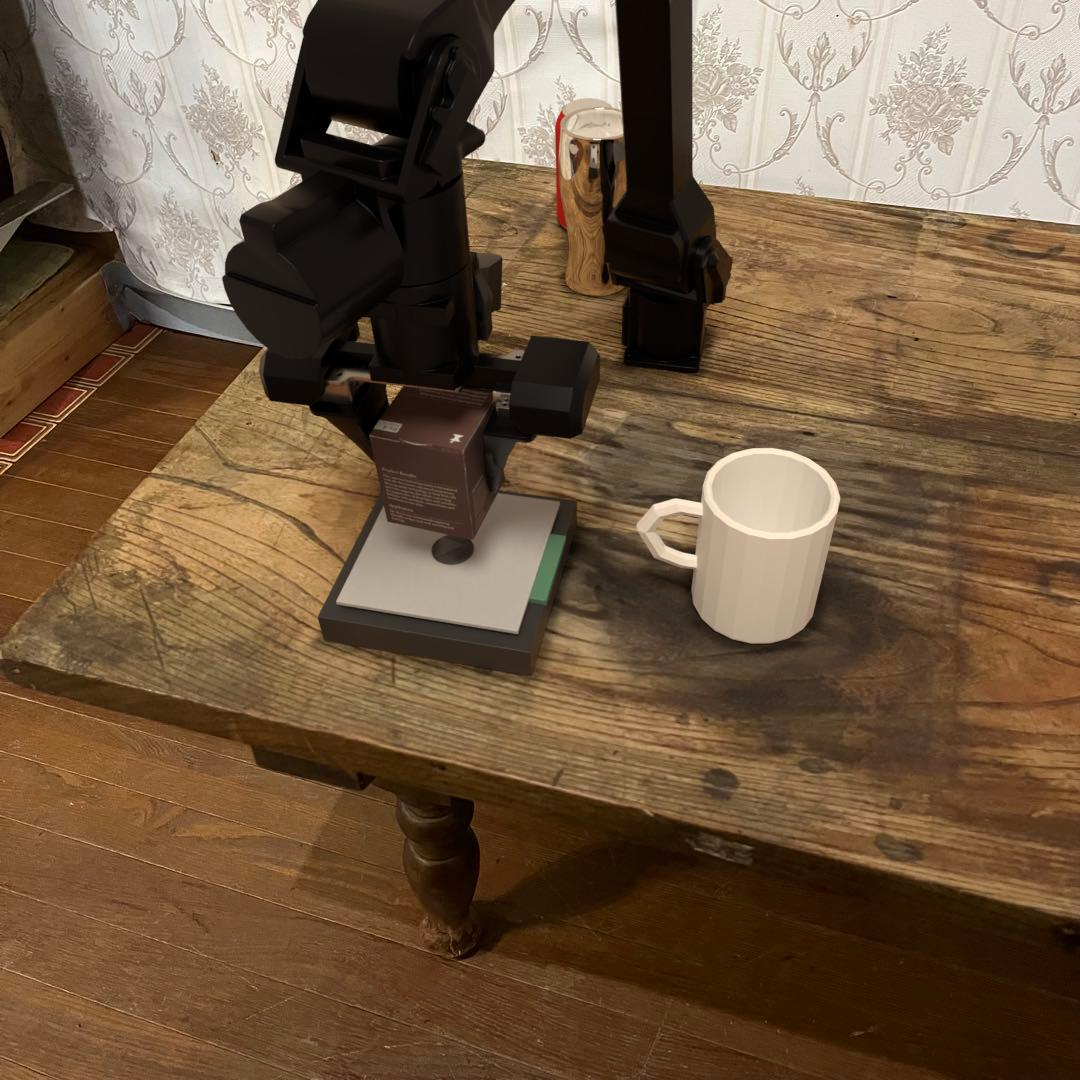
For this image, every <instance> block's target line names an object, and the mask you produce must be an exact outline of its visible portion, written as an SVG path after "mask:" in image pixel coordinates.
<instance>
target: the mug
mask: <svg viewBox="0 0 1080 1080" xmlns="http://www.w3.org/2000/svg"><path fill="white" fill-rule="evenodd" d="M840 501H841V495H840V491H839V487H838V485H837V482H836V481H835V480H834V478H832V476H831V475H830V474H829V472H828V471H827V470H826V469H825V468H823V467H822V466H820V464H817V462H815V461H814V460H812V459H810V458H808V457H806V456H804V455H801V454H799V453H797V452H794V451H791V450H786V449H780V448H776V447H775V448H774V447H753V448H752V447H751V448H748V449H743V450H740V451H735V452H732V453H730V454H728V455H726V456H725V457H723V458H720V459H719V460H717V461H716V462H715V463H714V464H713V465H712V466H711V468H710V469H708V471H706V475H705V478H704V481H703V484H702V489H701V499H700V501H694V500H687V499H682V498H676V497H675V498H671V499H668V500H665V501H661V502H657V503H653V504H652V505H651V506H650V508H649V509H648V510H647V511H646V513H644V515H643V516H642V517H641V519H639V521H638V522H637V523H636V524H635V526H636V531H637V533H638V535H639V536H640V537H641V540H642V541H643V542H644V544H645V546H646V547H647V549H648V551H649V552H650V554H651V555H652V557H653V558H654V559H656V560H659V561H661V562H664V563H667V564H669V565H672V566H674V567H677V568H678V569H679V568H680V569H688V570H692V571H693V572H692V579H691V581H692V582H691V588H690V589H691V596H692V597H691V598H692V604H693V606H694V608H695V610H696V611H697V613H698V615H699V617H700V619H701V620H702V621H703V622H704V623H706V624H707V625H708V626H709V627H710V628H711V629H712V630H713V631H715V632H717V633H718V634H720V635H722V636H724V637H727V638H728V639H730V640H734V641H737V642H740V643H741V642H742V643H746V644H752V645H753V644H754V645H759V644H761V645H762V644H766V645H767V644H774V643H777V642H781V641H785V640H788V639H790V638H792V637H794V636H795V635H796V634H798V633H799V632H801V631H803V630H804V629H805V627H806V626H807V625H808V624H809V622H810V621H811V620H812V618H813V616H814V612H815V608H816V604H817V600H818V596H819V591H820V587H821V583H822V579H823V575H824V570H825V565H826V562H827V558H828V553H829V549H830V546H831V542H832V537H833V533H834V529H835V525H836V521H837V516H838V512H839V507H840ZM681 516H687V517H688V516H689V517H692V518H693V517H694V518H698V525H697V526H698V527H697V535H696V544H695V553H694V554H692V553H687V552H682V551H680V550H677V549H675V548H672V547H670V546H668V545H666V544H665V543H664V540H662V538H661V536H660V535H659V533H658V532H657V530H656V529H658V527H660V525H661V524H662V523H663V522H664V520H668V519H671V518H672V519H673V518H676V517H681Z"/></svg>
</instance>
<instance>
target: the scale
mask: <svg viewBox="0 0 1080 1080" xmlns="http://www.w3.org/2000/svg"><path fill="white" fill-rule="evenodd" d="M366 518H367V519H366V521H365V522H364V524H363V526H362V528H361V530H360V532H359V533H358V536H357V538H356V540H355V542H354V544H353V545H352V548H351V550H350V552H349V554H348V556H347V558H346V559H345V562H344V563H343V566H342V568H341V569H340V572H339V573H338V576H337V577H336V579H335V582H334V583H333V585H332V587H331V589H330V591H329V593H328V594H327V597H326V599H325V601H324V603H323V605H322V606H321V609H320V611H319V613H318V615H317V620H318V624H319V628H320V631H321V634H322V635H321V636H322V638H323V641H325V642H331V643H337V644H342V645H348V646H354V647H359V648H365V649H372V650H377V651H383V652H388V653H395V654H400V655H407V656H412V657H418V658H424V659H429V660H435V661H442V662H446V663H453V664H459V665H464V666H469V667H477V668H482V669H488V670H494V671H499V672H505V673H510V674H515V675H521V676H522V675H523V676H527V677H528V676H529V677H531V676H532V675H533V672H534V668H535V665H536V663H537V659H538V655H539V652H540V649H541V646H542V643H543V638H544V636H545V632H546V629H547V625H548V623H549V619H550V616H551V612H552V609H553V606H554V603H555V599H556V596H557V593H558V589H559V585H560V583H561V579H562V576H563V572H564V569H565V566H566V562H567V559H568V556H569V553H570V549H571V545H572V543H573V539H574V537H575V532H576V530H577V526H578V500H575V499H568V498H560V497H553V496H547V495H540V494H539V495H538V494H532V493H525V492H518V491H517V492H516V491H512V490H511V491H510V490H505V489H504V490H503V489H500V490H499V492H498V494H497V496H496V498H495V499H494V501H493V503H492V505H491V507H490V509H489V511H488V513H487V515H486V516H485V519H484V521H483V522H482V524H481V526H480V528H479V530H478V532H477V534H476V536H475V538H474V539H473V540H469V539H465V538H461V537H456V536H452V535H447V534H442V533H438V532H433V531H429V530H424V529H419V528H415V527H410V526H405V525H401V524H397V523H391V522H388V521H387V518H386V513H385V509H384V505H383V500H382V494H381V492H380V493H379V495H378V497H377V498H376V500H375V502H374V504H373V507H372V508H371V510H370V512H369V514H368V516H367V517H366Z"/></svg>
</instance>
